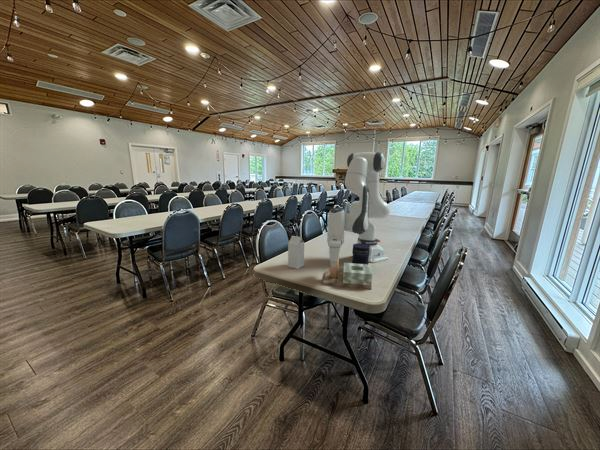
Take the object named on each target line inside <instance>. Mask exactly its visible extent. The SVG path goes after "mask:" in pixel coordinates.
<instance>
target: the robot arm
mask: <svg viewBox="0 0 600 450" xmlns="http://www.w3.org/2000/svg"><path fill="white" fill-rule="evenodd" d="M346 159H347V160H346V165H347V170H346V175H345V178H344V186H345V188H346V189H347V190H348V191H349V192H350V193H352V194H353V195H356V196H358V198H359V200H355V201H352V202H351V203H350V205H349V207H348V208H349V209H348V210H349V211H348V212H349V213H348V212H346V211H345V209H344V208H343V207H333V208H330V210H329V212H328V216H327V233H326V243H327V246H328V249H329V252H328V253H329V261H331V262H332V266H333V267H336V262H337V261H338V256H339V257H340V250H341V247H342V245H343V244H344V243H345V232H349V233H353V234H357V235H358V237H357V244H358V243H360V244H367V245H369V246H370V253H369V259H368V262H369V263H374V264H375V263H379V262H383V261H387V260H388V259H389V257H388V255H386V254H385V249H384V247H382V246H381V245H379V244H378V243H381V239H380V238H377V227H376V225H374V224H373V223H371V222H370V221H369V219H378V220H379V219H380V220H381V219H386V218H387V217H388V216H390V212H391V208H390V205H389V204H388V203H387V202H386V201H385V200H384V199H383V198H382V196H381V194H380V172H382V170H383V169H384V167H385V166H386V165H385V164H386V157H385V155H384V153H382V152H378V151H377V152H375V151H374V152H373V151H363V152H362V151H361V152H353V153H350V154H349V155H348V157H347V158H346Z"/></svg>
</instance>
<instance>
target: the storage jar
mask: <svg viewBox="0 0 600 450" xmlns="http://www.w3.org/2000/svg"><path fill="white" fill-rule="evenodd" d="M369 253H370V246H369V245H367V244H360V243H358V242H357V243H353V244H352V254H351V255H352V259H351V263H355V264H368V265H370V262H368V259H369Z"/></svg>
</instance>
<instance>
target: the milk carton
mask: <svg viewBox="0 0 600 450" xmlns="http://www.w3.org/2000/svg"><path fill="white" fill-rule="evenodd" d="M287 243H288V244H287V245H288V246H287V250H288V251H287V255H288V256H287V266H288V267H289V268H291V269H297V270H299V269H300V268H302V267H304V266H305V241H304V240H303V238H302V237H301V236H297V235H296V236H295V235H291V237H290V240H289V241H288V242H287Z"/></svg>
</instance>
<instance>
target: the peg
mask: <svg viewBox="0 0 600 450" xmlns="http://www.w3.org/2000/svg"><path fill="white" fill-rule="evenodd" d="M339 259H340V255H339V256H338V261H337V262H336V267H333V266H332V262H331V261H330V260H329V261H330V263H329V266H330V267H329V271H330V278H338V272H339V267H340V266H339V264H340V260H339Z"/></svg>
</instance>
